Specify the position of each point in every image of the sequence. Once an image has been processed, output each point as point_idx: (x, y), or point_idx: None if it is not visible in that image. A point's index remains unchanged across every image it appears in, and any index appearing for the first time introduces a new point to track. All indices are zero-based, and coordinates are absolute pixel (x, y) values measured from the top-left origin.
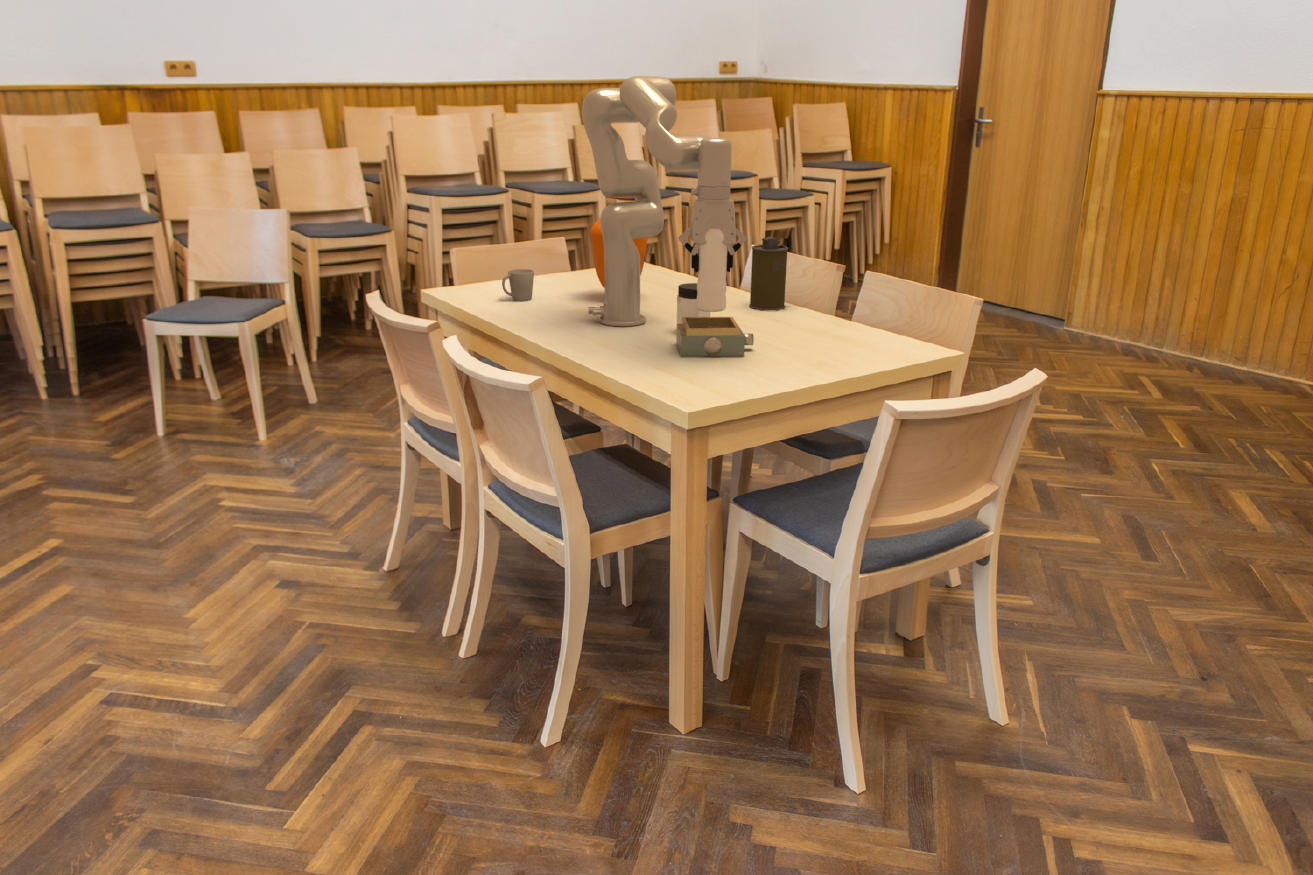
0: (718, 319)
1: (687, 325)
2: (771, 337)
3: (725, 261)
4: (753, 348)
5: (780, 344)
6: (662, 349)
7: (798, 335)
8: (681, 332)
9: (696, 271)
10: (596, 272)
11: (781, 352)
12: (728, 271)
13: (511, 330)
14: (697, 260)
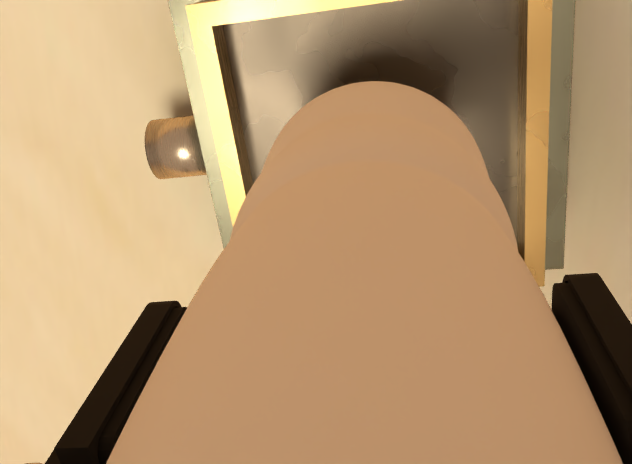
0: None
1: (534, 64)
2: (114, 337)
3: (162, 353)
4: None
5: (62, 231)
6: (625, 104)
7: (15, 367)
8: (563, 54)
9: (579, 276)
10: None
11: (37, 91)
12: (168, 301)
13: None
14: (623, 369)
